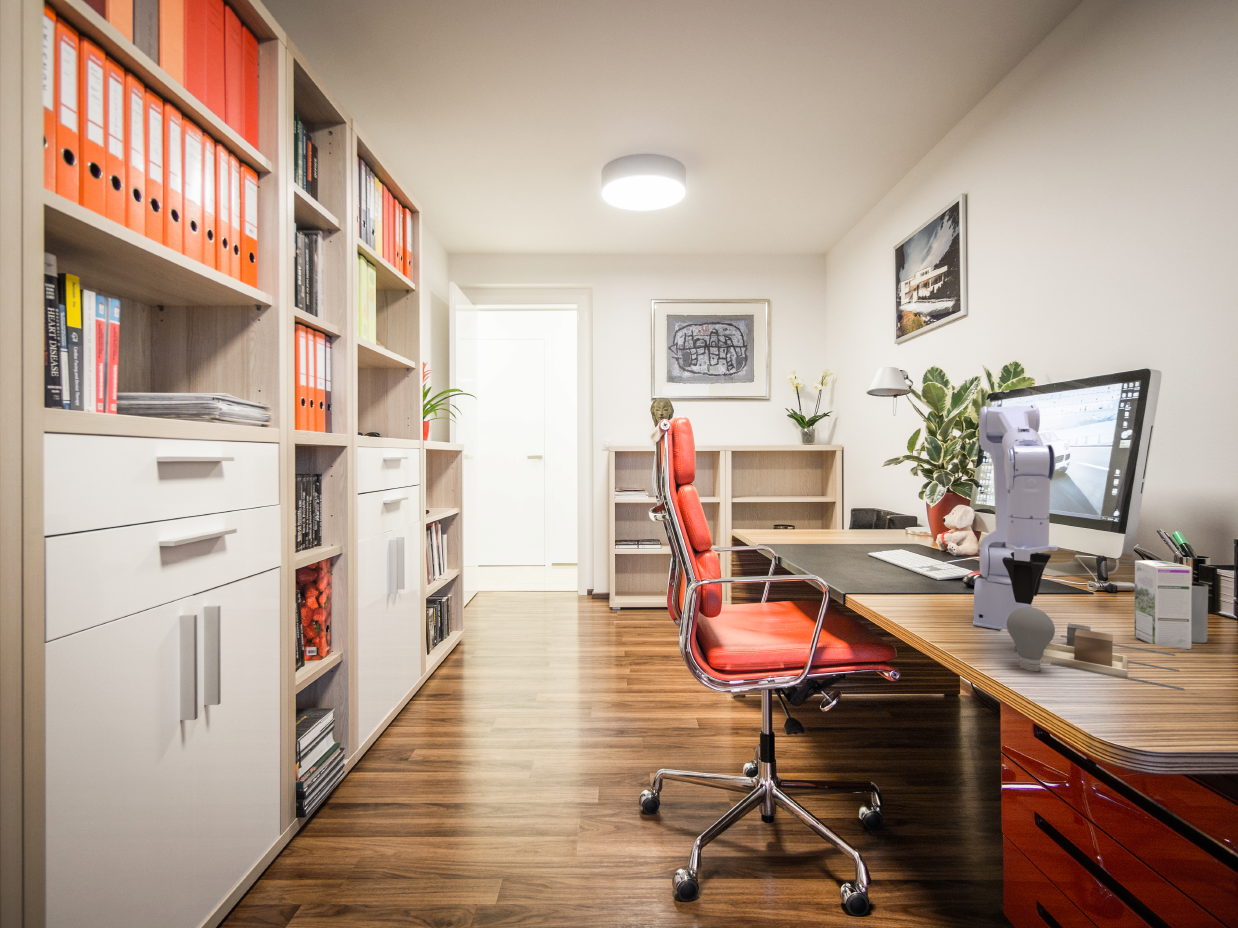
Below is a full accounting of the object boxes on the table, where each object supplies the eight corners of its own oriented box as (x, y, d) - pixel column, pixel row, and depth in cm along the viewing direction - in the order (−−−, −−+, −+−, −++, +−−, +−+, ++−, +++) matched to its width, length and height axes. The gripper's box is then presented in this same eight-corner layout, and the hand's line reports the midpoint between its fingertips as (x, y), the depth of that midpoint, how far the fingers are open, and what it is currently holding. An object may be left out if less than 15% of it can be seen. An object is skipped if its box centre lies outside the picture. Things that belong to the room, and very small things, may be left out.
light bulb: (1045, 668, 91) (1046, 604, 91) (1060, 682, 85) (1061, 614, 85) (1000, 663, 93) (1002, 601, 92) (1012, 676, 87) (1013, 610, 87)
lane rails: (1050, 668, 91) (1050, 663, 91) (1060, 639, 106) (1060, 635, 106) (1184, 695, 81) (1184, 689, 81) (1174, 658, 96) (1175, 654, 96)
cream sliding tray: (1012, 658, 95) (1013, 619, 94) (1019, 646, 101) (1020, 609, 101) (1127, 681, 85) (1127, 637, 85) (1126, 666, 92) (1127, 625, 92)
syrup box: (1193, 649, 101) (1195, 566, 100) (1153, 647, 102) (1155, 564, 102) (1169, 639, 106) (1170, 560, 106) (1131, 637, 107) (1133, 559, 107)
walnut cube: (1074, 663, 91) (1074, 634, 91) (1075, 656, 94) (1076, 628, 94) (1111, 670, 88) (1112, 641, 88) (1112, 662, 91) (1112, 634, 91)
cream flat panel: (1065, 653, 98) (1066, 630, 98) (1069, 642, 104) (1069, 619, 104) (1176, 674, 89) (1177, 648, 89) (1173, 659, 95) (1173, 635, 95)
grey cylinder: (1165, 635, 109) (1166, 580, 109) (1187, 635, 109) (1188, 580, 109) (1191, 643, 104) (1192, 586, 104) (1214, 642, 105) (1215, 585, 104)
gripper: (1054, 522, 89) (1052, 611, 89) (1061, 516, 100) (1060, 595, 100) (999, 519, 93) (997, 603, 93) (1012, 513, 104) (1010, 588, 104)
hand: (1026, 598), depth 97 cm, fingers open, 7 cm apart
